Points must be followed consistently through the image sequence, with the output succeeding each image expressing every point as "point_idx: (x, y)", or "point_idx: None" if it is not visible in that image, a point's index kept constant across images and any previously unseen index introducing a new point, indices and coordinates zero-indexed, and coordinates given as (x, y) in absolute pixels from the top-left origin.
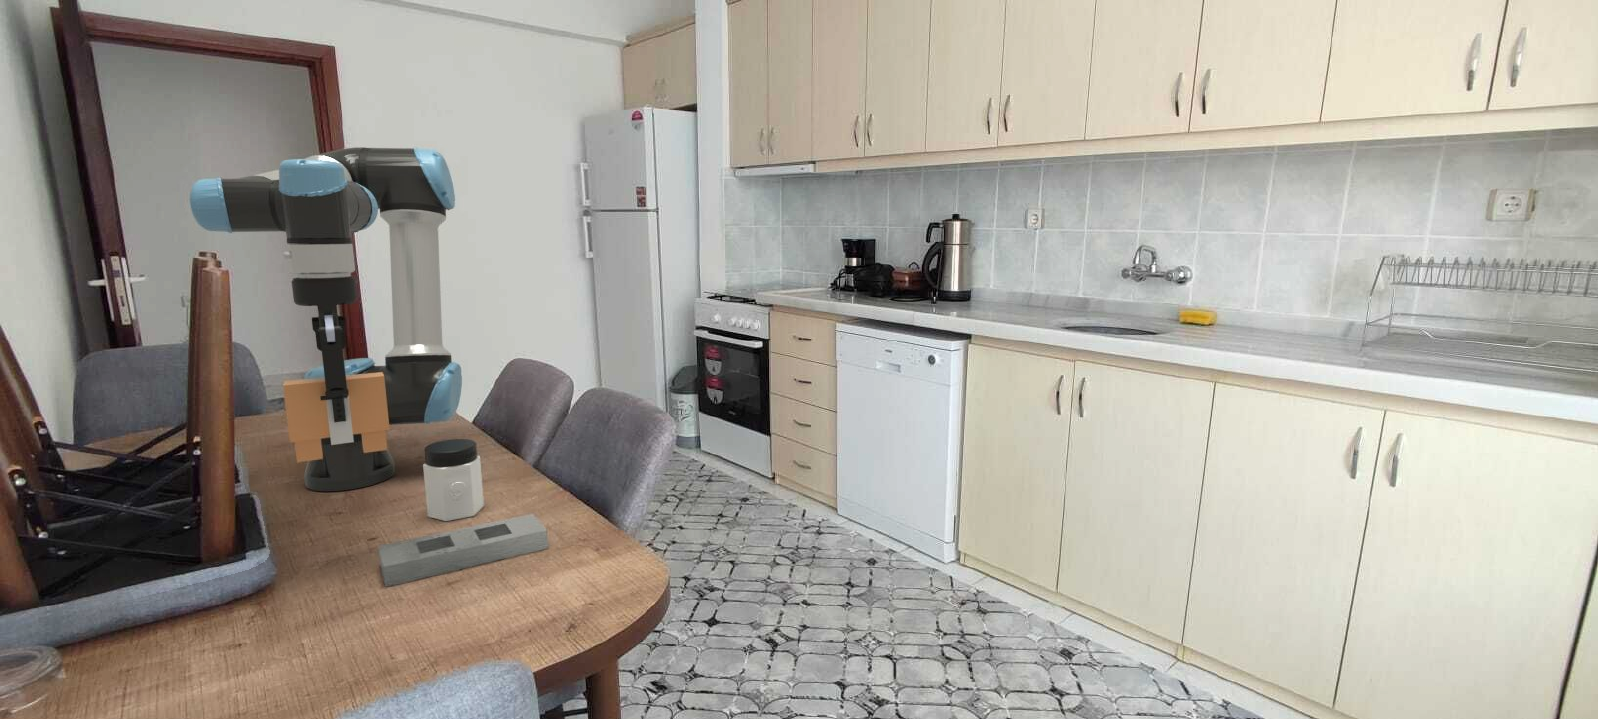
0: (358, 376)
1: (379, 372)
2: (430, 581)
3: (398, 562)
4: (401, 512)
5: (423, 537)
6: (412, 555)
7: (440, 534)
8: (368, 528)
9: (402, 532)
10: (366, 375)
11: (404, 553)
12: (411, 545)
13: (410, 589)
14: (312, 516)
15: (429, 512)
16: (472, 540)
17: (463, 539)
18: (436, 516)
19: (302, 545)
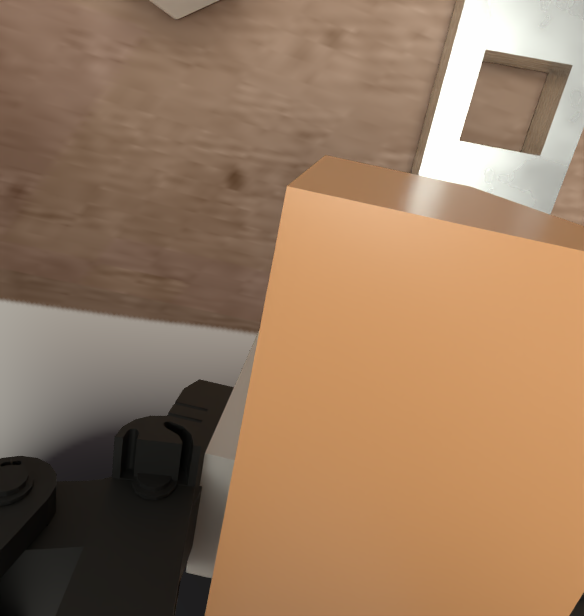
0: (412, 554)
1: (292, 241)
2: (576, 153)
3: (545, 211)
4: (96, 68)
5: (442, 113)
6: (533, 173)
7: (460, 68)
8: (161, 167)
9: (241, 111)
10: (423, 467)
11: (505, 184)
12: (470, 155)
13: (575, 198)
14: (9, 242)
15: (180, 13)
16: (580, 8)
17: (549, 27)
18: (208, 3)
19: (176, 296)
